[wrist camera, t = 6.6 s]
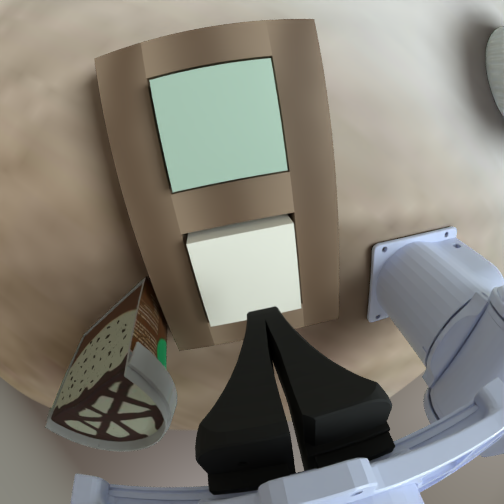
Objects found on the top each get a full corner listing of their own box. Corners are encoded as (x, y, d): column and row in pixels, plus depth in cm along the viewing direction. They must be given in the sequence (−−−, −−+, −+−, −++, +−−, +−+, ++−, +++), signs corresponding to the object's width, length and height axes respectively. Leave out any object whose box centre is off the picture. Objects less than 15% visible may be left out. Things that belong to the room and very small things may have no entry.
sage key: (262, 66, 14) (270, 58, 12) (277, 162, 17) (287, 170, 15) (158, 85, 14) (149, 80, 12) (177, 181, 17) (172, 192, 15)
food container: (125, 377, 25) (109, 464, 16) (76, 341, 23) (43, 428, 14) (215, 315, 23) (222, 423, 14) (158, 265, 21) (131, 371, 12)
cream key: (283, 209, 18) (293, 223, 16) (292, 287, 21) (301, 308, 19) (189, 227, 18) (186, 244, 16) (210, 304, 21) (210, 326, 19)
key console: (299, 31, 15) (313, 19, 12) (325, 295, 24) (338, 318, 21) (111, 66, 14) (94, 58, 11) (181, 325, 23) (179, 350, 20)
